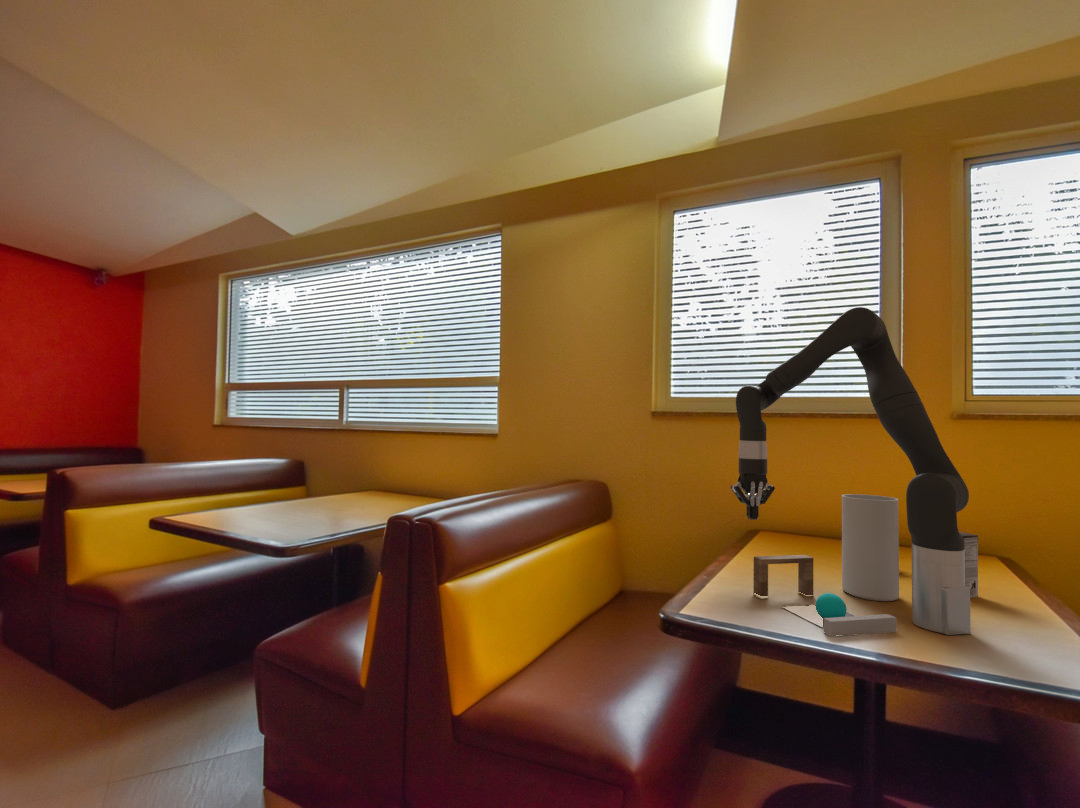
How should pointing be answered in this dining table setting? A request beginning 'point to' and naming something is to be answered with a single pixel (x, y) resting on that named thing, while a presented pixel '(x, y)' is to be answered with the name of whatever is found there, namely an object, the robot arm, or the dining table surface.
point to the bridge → (803, 563)
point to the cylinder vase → (870, 547)
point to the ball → (830, 606)
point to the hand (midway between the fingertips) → (752, 519)
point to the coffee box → (971, 562)
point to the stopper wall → (859, 625)
